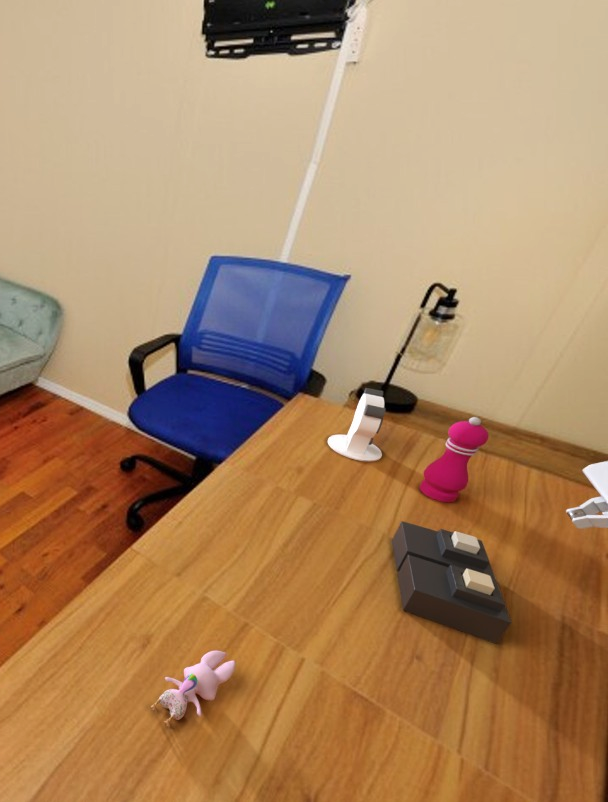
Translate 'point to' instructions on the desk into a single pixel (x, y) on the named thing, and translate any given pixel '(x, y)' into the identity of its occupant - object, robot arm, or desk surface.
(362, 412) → the white curved stand
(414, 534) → the low key box
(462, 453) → the pepper mill
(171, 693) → the rabbit figure
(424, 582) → the high key box
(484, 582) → the high key
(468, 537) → the low key
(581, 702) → the desk surface
